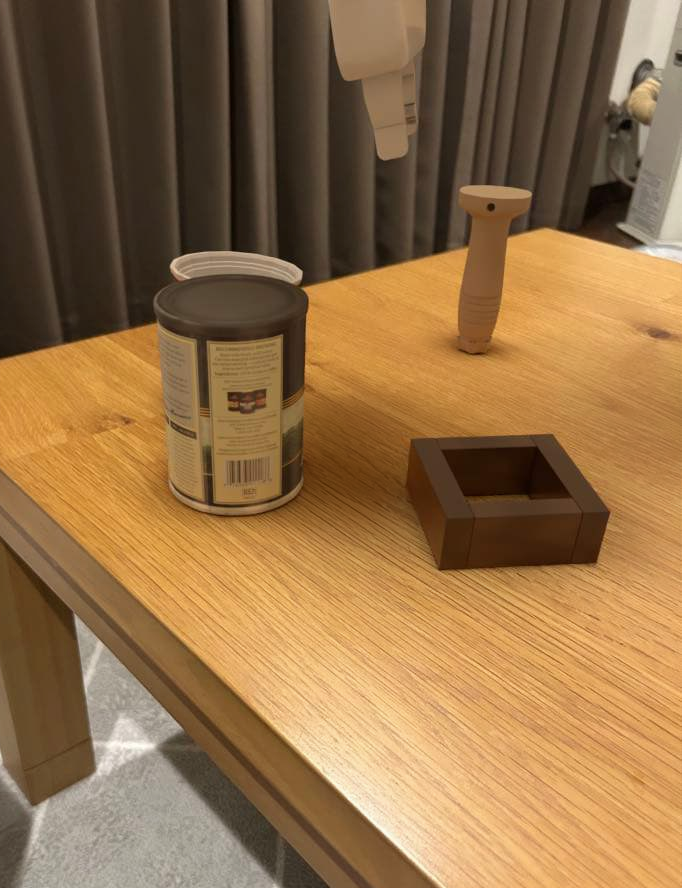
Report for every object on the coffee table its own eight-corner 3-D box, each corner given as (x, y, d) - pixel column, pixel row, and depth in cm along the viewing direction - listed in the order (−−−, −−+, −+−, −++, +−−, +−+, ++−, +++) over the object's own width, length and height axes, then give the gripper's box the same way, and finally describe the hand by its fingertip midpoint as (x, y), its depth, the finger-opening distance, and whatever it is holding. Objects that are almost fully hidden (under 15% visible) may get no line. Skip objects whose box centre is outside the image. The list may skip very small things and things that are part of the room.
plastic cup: (323, 409, 75) (329, 272, 68) (212, 438, 71) (207, 294, 64) (261, 365, 83) (261, 238, 76) (158, 389, 78) (148, 255, 72)
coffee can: (248, 435, 71) (246, 263, 63) (331, 486, 65) (341, 301, 57) (140, 473, 66) (123, 291, 58) (219, 533, 59) (212, 337, 51)
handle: (502, 362, 84) (529, 201, 76) (436, 353, 86) (455, 194, 77) (507, 344, 88) (534, 189, 79) (445, 336, 90) (463, 183, 81)
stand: (542, 480, 66) (552, 433, 63) (596, 562, 57) (610, 511, 55) (405, 485, 65) (410, 438, 63) (439, 569, 56) (446, 518, 54)
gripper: (409, -168, 39) (446, 161, 45) (429, -119, 55) (453, 115, 62) (274, -126, 40) (328, 185, 47) (333, -91, 57) (367, 134, 64)
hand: (400, 145), depth 55 cm, fingers open, 8 cm apart
